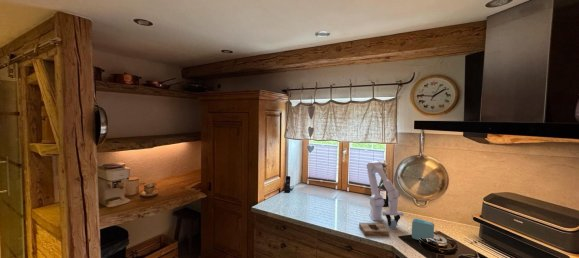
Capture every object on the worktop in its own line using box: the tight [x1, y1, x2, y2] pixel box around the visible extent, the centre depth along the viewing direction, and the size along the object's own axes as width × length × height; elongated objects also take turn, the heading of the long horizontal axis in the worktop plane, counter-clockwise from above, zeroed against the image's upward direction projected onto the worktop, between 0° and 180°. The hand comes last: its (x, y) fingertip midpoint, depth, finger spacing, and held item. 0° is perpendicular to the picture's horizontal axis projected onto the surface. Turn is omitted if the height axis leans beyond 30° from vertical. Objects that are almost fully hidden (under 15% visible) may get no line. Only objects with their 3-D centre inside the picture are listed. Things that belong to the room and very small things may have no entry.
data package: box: [411, 218, 435, 241], centre depth 149 cm, size 12×4×12 cm, turn 55°
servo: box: [387, 218, 399, 230], centre depth 165 cm, size 9×4×6 cm, turn 1°
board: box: [358, 222, 390, 237], centre depth 158 cm, size 12×16×3 cm
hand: (392, 225), depth 165 cm, fingers open, 4 cm apart
